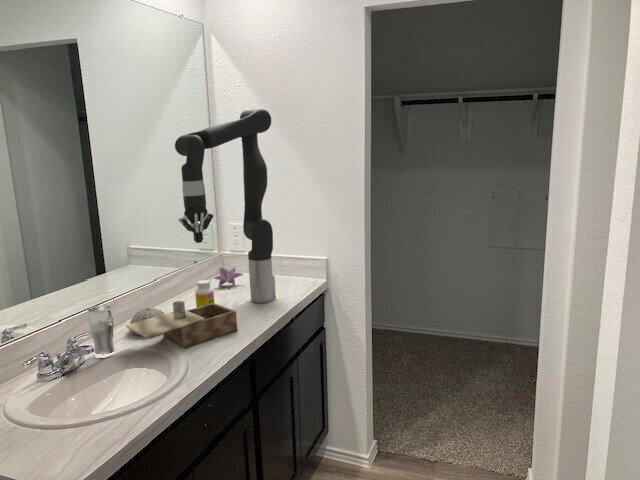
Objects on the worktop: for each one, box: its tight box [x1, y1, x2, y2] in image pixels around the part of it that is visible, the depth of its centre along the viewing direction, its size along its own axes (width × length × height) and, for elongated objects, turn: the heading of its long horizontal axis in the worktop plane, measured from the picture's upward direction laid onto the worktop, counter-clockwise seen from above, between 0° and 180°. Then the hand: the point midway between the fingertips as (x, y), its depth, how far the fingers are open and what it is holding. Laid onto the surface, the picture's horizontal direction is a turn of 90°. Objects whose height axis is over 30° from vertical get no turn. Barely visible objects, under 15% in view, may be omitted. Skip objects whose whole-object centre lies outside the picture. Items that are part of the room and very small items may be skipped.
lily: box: [212, 267, 244, 289], centre depth 226 cm, size 12×12×10 cm
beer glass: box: [87, 304, 116, 355], centre depth 156 cm, size 7×7×15 cm
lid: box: [125, 300, 205, 339], centre depth 161 cm, size 20×14×6 cm
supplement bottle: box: [194, 279, 215, 308], centre depth 190 cm, size 7×7×13 cm
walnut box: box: [162, 302, 238, 350], centre depth 171 cm, size 20×14×7 cm
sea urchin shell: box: [129, 307, 166, 336], centre depth 176 cm, size 13×14×8 cm
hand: (198, 242), depth 180 cm, fingers closed
